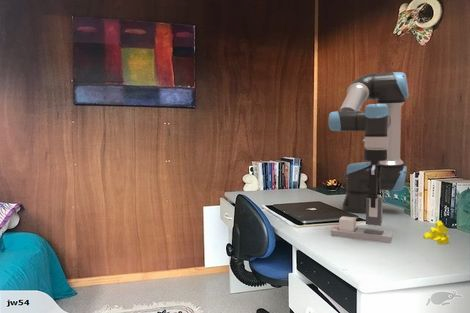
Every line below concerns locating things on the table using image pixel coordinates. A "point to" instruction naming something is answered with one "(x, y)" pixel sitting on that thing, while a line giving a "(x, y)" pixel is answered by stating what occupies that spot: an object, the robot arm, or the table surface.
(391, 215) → the table surface
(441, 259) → the table surface
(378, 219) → the block
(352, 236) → the power strip
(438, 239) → the yellow lumpy cluster
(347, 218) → the block
